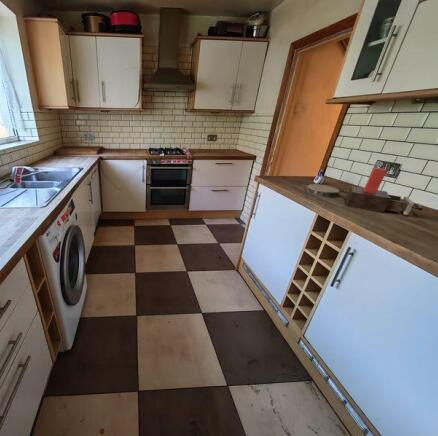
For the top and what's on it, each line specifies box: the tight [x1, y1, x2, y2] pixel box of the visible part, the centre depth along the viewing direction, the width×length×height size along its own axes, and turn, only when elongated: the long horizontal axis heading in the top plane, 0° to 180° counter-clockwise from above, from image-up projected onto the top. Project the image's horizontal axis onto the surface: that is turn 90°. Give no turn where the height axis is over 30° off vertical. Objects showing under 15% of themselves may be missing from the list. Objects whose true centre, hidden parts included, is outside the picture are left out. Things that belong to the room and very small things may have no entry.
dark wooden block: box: [345, 185, 391, 213], centre depth 120 cm, size 15×14×8 cm
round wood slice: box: [306, 183, 340, 198], centre depth 138 cm, size 16×16×3 cm
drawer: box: [385, 194, 424, 216], centre depth 114 cm, size 18×12×6 cm
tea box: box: [363, 167, 388, 194], centre depth 116 cm, size 4×4×12 cm
